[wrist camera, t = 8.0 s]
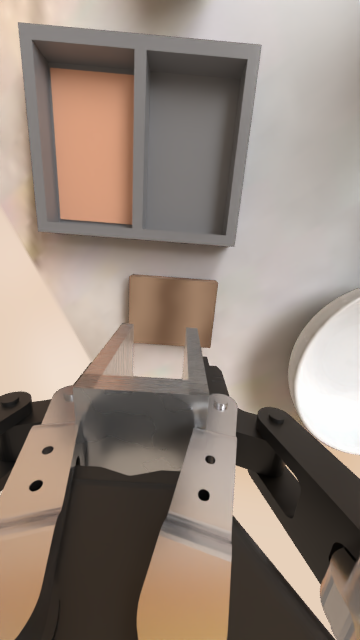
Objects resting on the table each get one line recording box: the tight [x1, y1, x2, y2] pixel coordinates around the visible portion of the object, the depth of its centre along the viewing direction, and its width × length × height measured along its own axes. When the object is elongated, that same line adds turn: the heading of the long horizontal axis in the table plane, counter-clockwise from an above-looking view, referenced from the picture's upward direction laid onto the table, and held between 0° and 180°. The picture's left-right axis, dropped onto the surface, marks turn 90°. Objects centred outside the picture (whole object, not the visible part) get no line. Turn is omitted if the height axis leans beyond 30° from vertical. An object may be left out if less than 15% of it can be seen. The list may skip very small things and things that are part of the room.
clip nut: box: [73, 323, 210, 476], centre depth 11 cm, size 4×5×6 cm
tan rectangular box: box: [129, 274, 218, 348], centre depth 29 cm, size 10×8×2 cm
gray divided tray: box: [18, 22, 262, 247], centre depth 23 cm, size 20×16×3 cm
